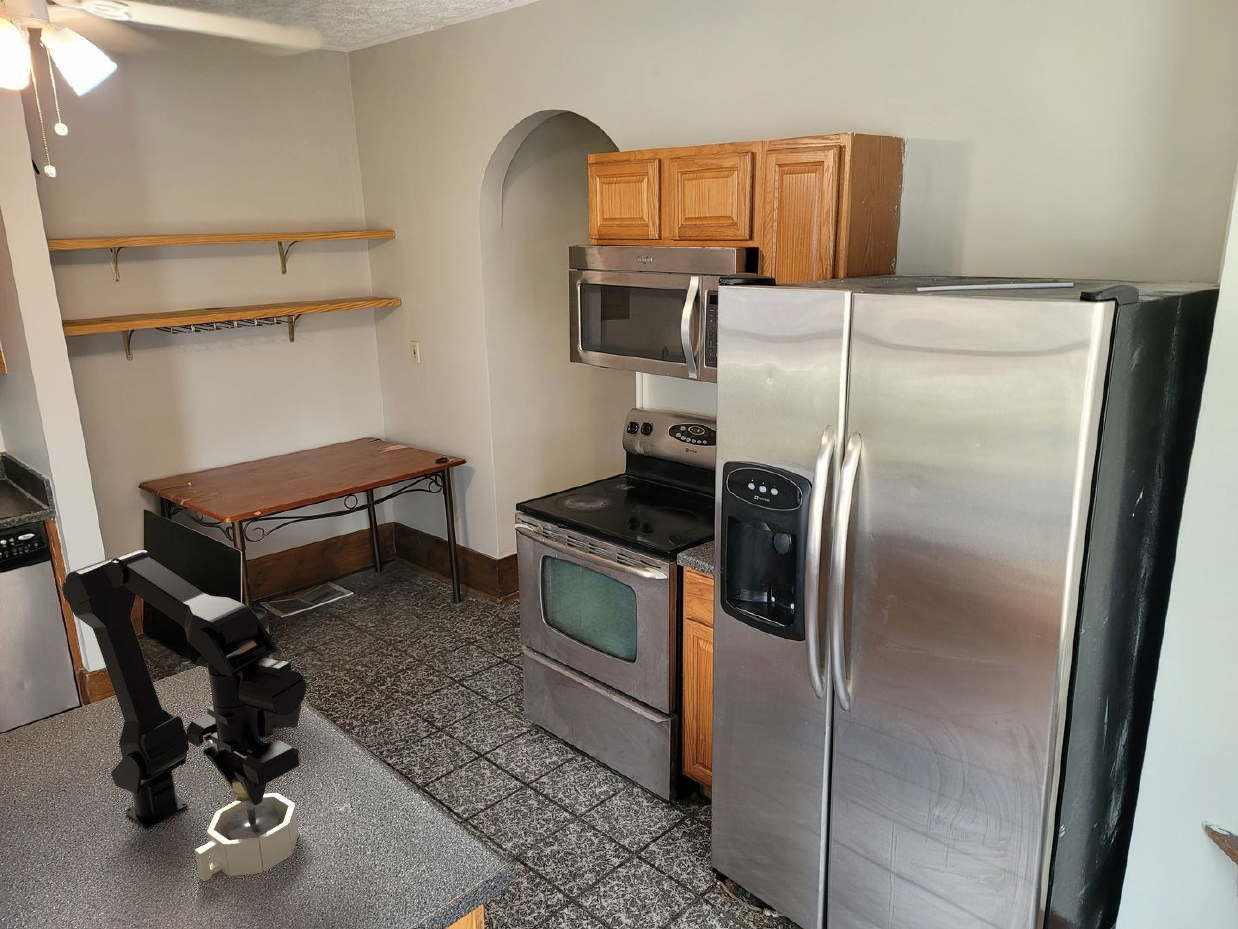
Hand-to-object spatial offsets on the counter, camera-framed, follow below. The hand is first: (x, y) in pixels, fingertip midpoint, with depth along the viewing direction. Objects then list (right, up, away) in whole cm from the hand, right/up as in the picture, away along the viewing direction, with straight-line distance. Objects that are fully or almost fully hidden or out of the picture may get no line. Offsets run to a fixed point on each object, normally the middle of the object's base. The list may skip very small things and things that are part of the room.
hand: (249, 798), depth 124 cm
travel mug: (-14, +1, +36) cm, 39 cm away
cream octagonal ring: (-1, -8, +1) cm, 8 cm away
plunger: (0, -4, +1) cm, 5 cm away
